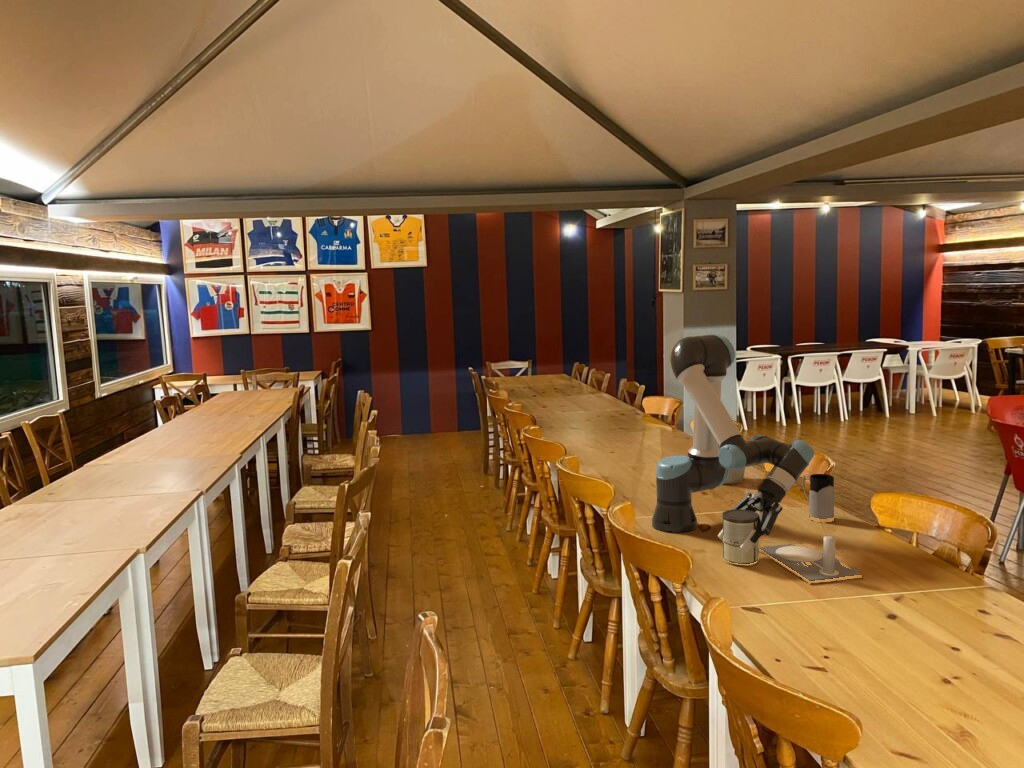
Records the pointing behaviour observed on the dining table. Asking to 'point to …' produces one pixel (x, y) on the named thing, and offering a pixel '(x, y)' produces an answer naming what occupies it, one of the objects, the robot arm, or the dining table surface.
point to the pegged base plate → (811, 560)
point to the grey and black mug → (820, 495)
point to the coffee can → (739, 535)
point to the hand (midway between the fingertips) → (731, 544)
